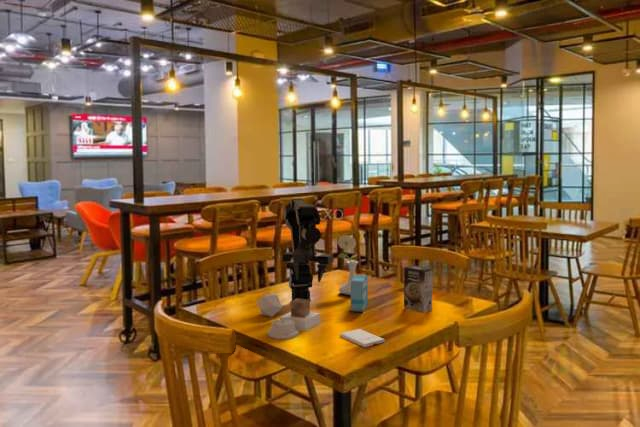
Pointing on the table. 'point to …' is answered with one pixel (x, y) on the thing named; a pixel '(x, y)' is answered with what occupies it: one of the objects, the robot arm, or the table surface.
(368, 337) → the external hard drive
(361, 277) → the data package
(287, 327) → the mechanical component
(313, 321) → the grey block
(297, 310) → the grey cube
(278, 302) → the die
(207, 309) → the table surface
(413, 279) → the coffee box
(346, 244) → the flower in vase
